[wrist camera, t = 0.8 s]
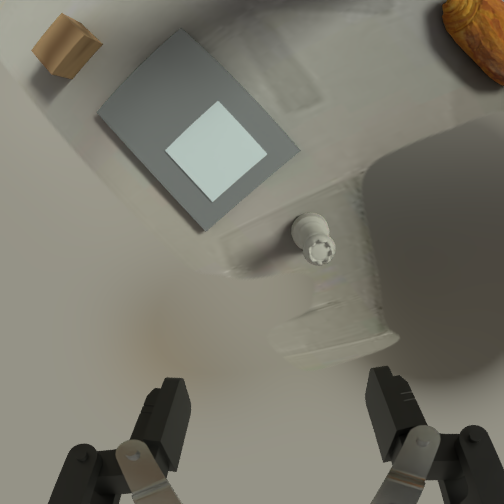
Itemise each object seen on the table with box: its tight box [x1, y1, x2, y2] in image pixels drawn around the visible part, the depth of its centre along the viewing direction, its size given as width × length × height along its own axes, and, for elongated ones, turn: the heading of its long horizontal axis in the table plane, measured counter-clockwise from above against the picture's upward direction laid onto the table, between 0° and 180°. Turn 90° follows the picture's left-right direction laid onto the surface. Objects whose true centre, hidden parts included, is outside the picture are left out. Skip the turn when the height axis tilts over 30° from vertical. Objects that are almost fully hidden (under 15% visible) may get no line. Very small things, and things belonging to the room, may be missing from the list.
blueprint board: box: [97, 28, 301, 231], centre depth 33 cm, size 20×14×1 cm
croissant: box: [442, 0, 504, 86], centre depth 23 cm, size 14×16×8 cm
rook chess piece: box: [291, 213, 336, 265], centre depth 33 cm, size 4×4×8 cm
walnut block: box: [31, 13, 103, 79], centre depth 27 cm, size 6×6×5 cm
